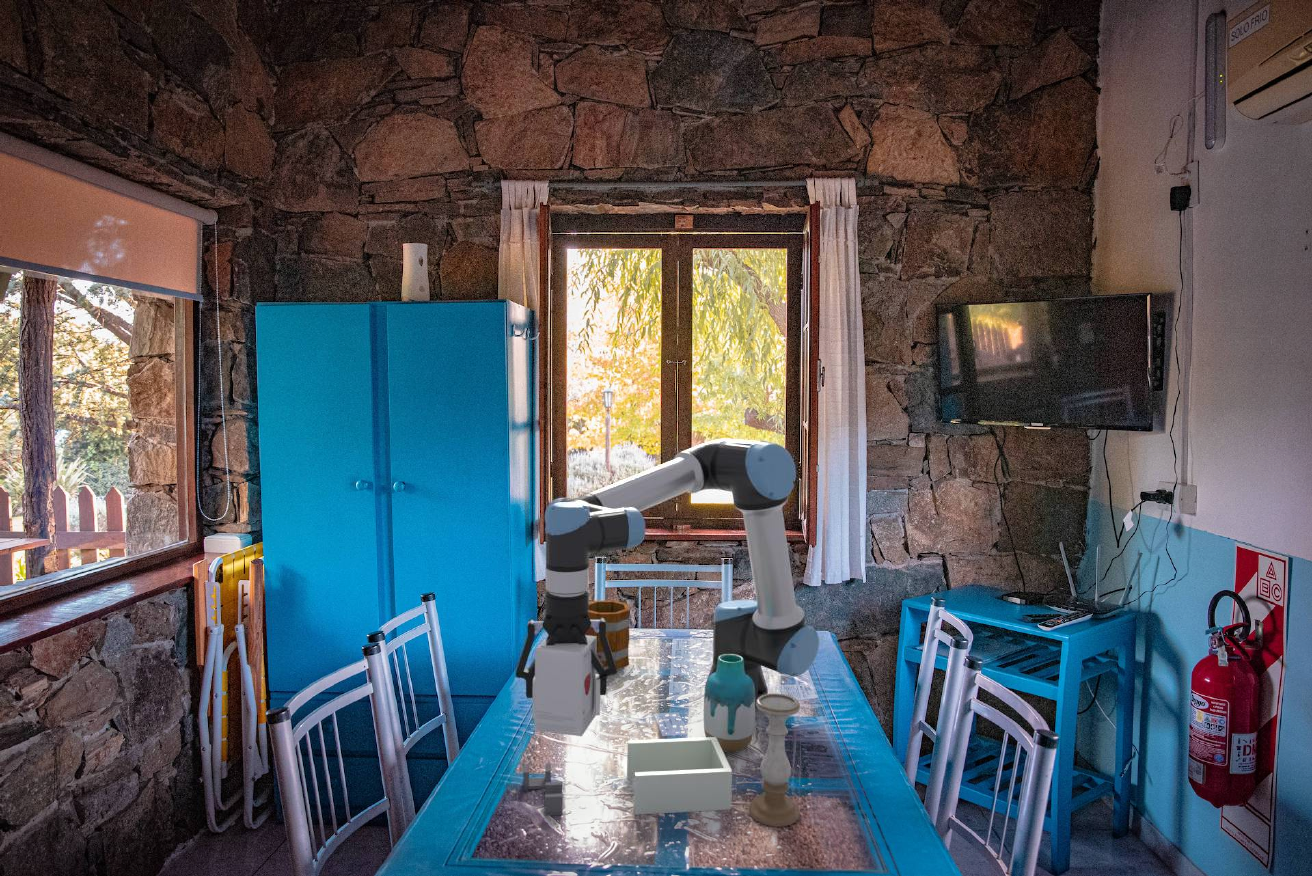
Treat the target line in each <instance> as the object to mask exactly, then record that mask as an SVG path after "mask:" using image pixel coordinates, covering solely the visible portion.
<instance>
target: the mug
mask: <svg viewBox="0 0 1312 876" xmlns="http://www.w3.org/2000/svg"><path fill="white" fill-rule="evenodd" d="M630 613H631V608H630V604H629V603H625V602H622V601H619V600H594V601H591V602H588V615H589V618H590V619H591V620H599V619H600V618H604V619H605V622H606V636H607V639H608V642H609V646H610V649H611V652H612V655H613V658H614V662H615V665H616V669H617V671H618V670H620V669H623V668H624V667H627V666H629V665H630V659H629V647H630V646H629V645H630V638H631V637H630V615H631V614H630ZM585 635H588V636H596V637H597V652H596V654H597V656H598V657H599V659H600V661H601V662H602V664H603V666H604V667H606V666H608V664H607V661H606V657H605V654H604V651H603V648H602V645H601V641H600V638H599V633H597V632H595V631H594V628H593V627H590V628H589V629H588V631H587V632H586V634H585Z"/></svg>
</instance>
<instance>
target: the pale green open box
mask: <svg viewBox="0 0 1312 876" xmlns="http://www.w3.org/2000/svg"><path fill="white" fill-rule="evenodd" d="M626 756H627V758H626V760H627V761H626V762H627V763H626V777H627V778H626V779H627V780H634V785H633V786H634V787H633V789H634V791H633V793H634V794H633V814H634V816H635V815H636V816H637V815H653V814H654V815H655V814H672V813H689V812H706V811H708V812H709V811H711V812H712V811H724V810H726V811H727V810H728V811H729V810H731V809H732V791H733V790H732V788H733V783H732V782H733V770H732V768H731V765H730V764H729V761H728V759H727V757H726V755H725V752H723V751H722V749H721V746H720V744H719V742H718V740H717V738H716V737H706V736H704V737H684V738H683V737H681V738H678V737H677V738H659V739H658V738H654V739H634V740H630V739H629V740H627V755H626Z"/></svg>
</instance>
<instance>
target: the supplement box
mask: <svg viewBox="0 0 1312 876" xmlns="http://www.w3.org/2000/svg"><path fill="white" fill-rule="evenodd" d="M585 636H586V637H587V643H588V645H584V644H579V643H563V644H558V643H555V645H549V646H547V645H546V639H547V637H546V638H545V639H543V640H542V642H541V643H539V644H538V645H537V646H536V647H535V648H534V649H535V654H534V659H535V703H534V718H533V720H534V721H533V723H534V725H533V729H534V732H542V733H550V734H561V735H569V736H576V737H583V736H584V734H585V732H586V731H587V729H588V728H589V726H590V725H591V723H592V721H594V719H595V717H596V716H597V715H595V674H597V671H596V669H595V668H594V666H593V665H592V663H591V649H592V650H593V651H595V653H596V652H597V637H596V636H588V635H585Z"/></svg>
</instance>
